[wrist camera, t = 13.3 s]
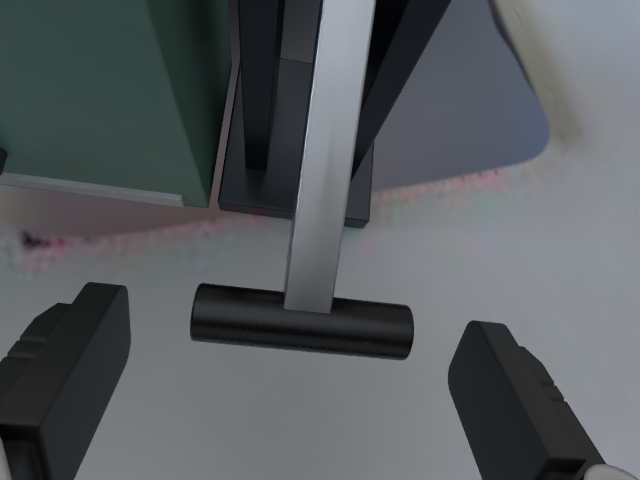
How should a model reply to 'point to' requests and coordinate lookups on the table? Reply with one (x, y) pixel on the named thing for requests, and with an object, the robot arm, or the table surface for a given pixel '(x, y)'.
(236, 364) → the table surface
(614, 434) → the table surface
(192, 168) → the toaster
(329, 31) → the lever
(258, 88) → the lever bracket
